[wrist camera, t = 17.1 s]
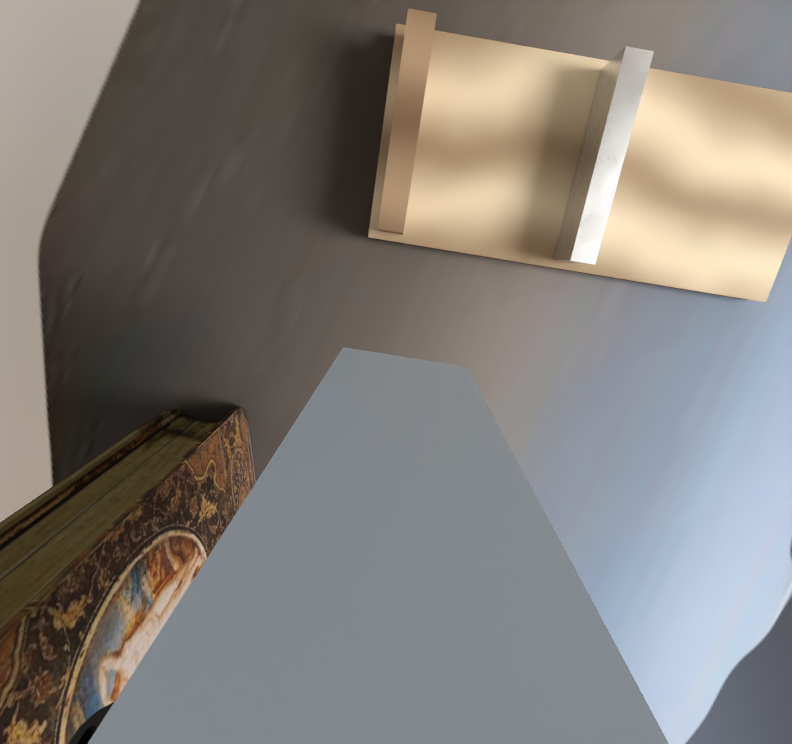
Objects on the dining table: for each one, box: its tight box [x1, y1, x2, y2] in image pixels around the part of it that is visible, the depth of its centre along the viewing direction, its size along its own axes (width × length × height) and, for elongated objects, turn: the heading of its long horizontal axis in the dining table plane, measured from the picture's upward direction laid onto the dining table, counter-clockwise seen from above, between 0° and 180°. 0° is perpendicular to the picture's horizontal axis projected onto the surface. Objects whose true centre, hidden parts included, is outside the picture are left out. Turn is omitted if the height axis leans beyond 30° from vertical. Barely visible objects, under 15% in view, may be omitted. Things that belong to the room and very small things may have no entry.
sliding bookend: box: [554, 47, 654, 265], centre depth 26 cm, size 11×2×3 cm, turn 171°
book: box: [0, 408, 256, 744], centre depth 24 cm, size 16×6×25 cm, turn 2°
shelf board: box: [368, 9, 792, 302], centre depth 26 cm, size 12×27×4 cm, turn 81°
